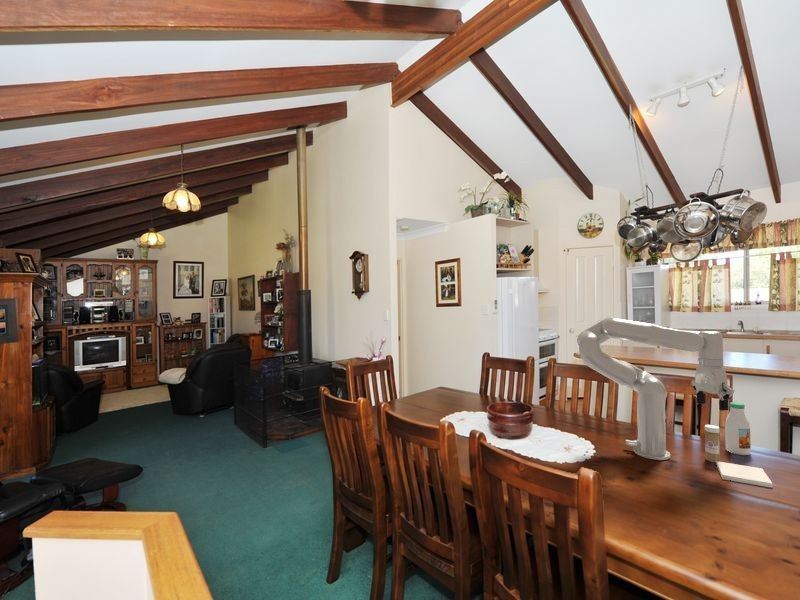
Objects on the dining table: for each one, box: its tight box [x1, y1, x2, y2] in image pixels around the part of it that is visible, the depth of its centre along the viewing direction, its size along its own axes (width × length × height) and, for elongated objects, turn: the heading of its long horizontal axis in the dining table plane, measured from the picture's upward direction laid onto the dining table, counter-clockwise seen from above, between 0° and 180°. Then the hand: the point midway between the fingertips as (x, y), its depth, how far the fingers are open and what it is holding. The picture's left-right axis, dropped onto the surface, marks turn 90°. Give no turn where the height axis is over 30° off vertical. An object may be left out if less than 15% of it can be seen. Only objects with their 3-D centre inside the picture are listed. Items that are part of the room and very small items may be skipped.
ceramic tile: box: [715, 461, 774, 489], centre depth 138 cm, size 13×13×2 cm
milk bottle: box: [724, 401, 752, 456], centre depth 158 cm, size 8×8×20 cm
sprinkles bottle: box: [704, 424, 721, 463], centre depth 151 cm, size 5×5×13 cm
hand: (712, 406), depth 151 cm, fingers open, 9 cm apart
